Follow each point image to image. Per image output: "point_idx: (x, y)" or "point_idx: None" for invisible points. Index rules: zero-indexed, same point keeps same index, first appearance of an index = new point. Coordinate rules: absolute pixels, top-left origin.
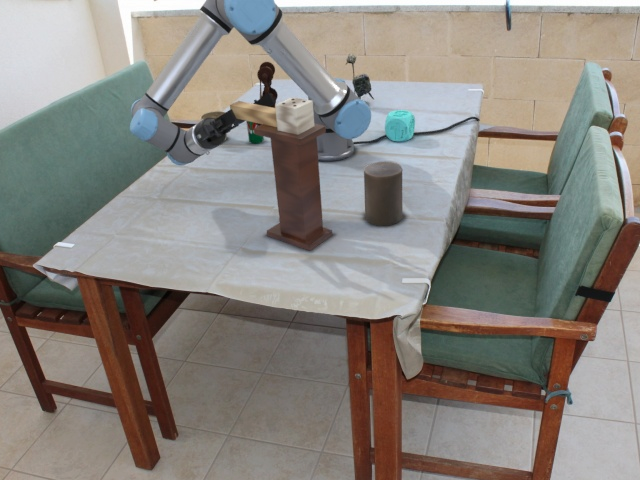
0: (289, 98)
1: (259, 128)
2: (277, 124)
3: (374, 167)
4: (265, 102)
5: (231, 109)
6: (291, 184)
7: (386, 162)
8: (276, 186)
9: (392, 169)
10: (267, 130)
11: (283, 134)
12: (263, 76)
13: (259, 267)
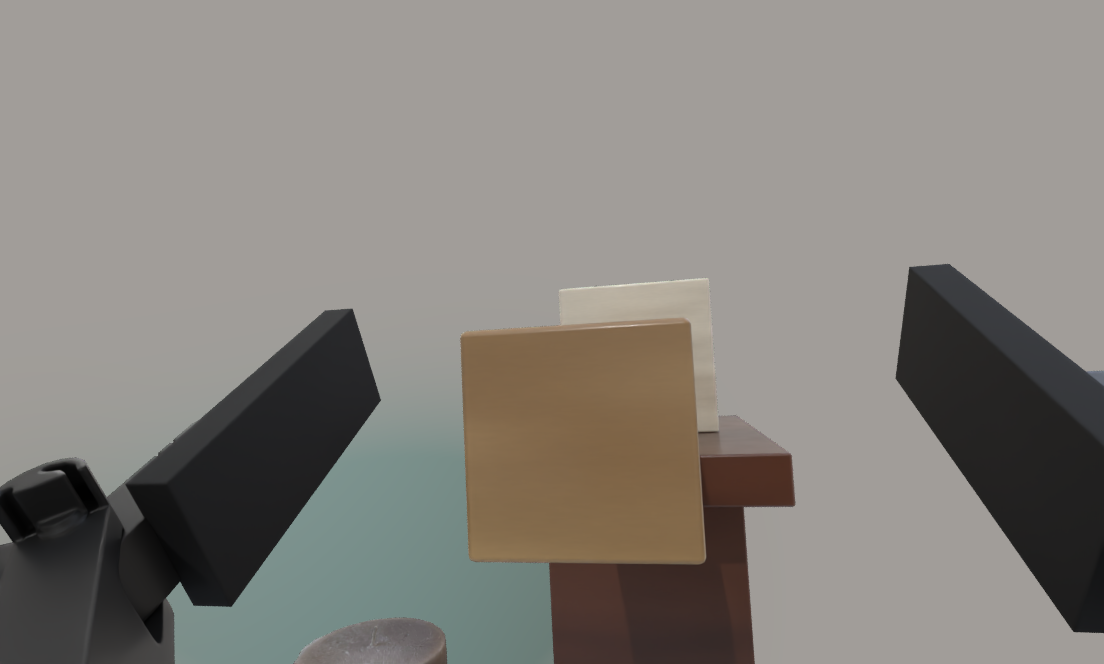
0: (587, 287)
1: (764, 447)
2: (716, 394)
3: (364, 661)
4: (323, 410)
5: (915, 269)
6: None
7: (310, 654)
8: None
9: (382, 629)
10: (756, 437)
11: (744, 424)
12: None
13: None
